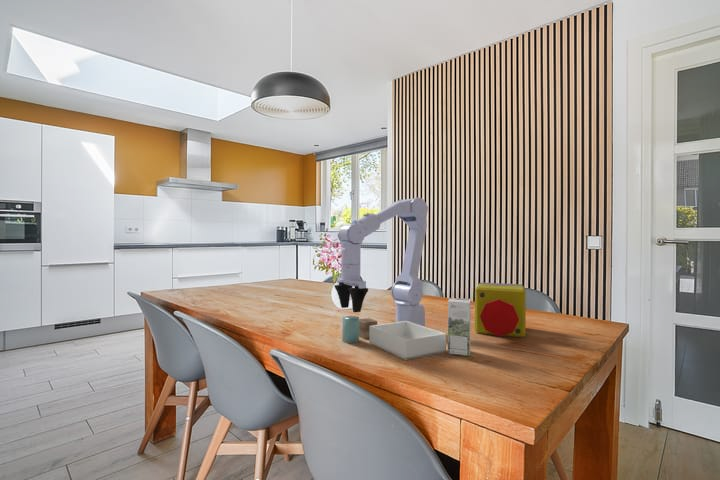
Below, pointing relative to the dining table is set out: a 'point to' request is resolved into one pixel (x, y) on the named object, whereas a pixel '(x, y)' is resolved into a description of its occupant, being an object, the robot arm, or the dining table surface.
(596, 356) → the dining table surface
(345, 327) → the teal canister
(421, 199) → the robot arm
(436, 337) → the grey tote
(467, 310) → the syrup box
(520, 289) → the emergency stop button
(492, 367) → the dining table surface
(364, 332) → the walnut cube
